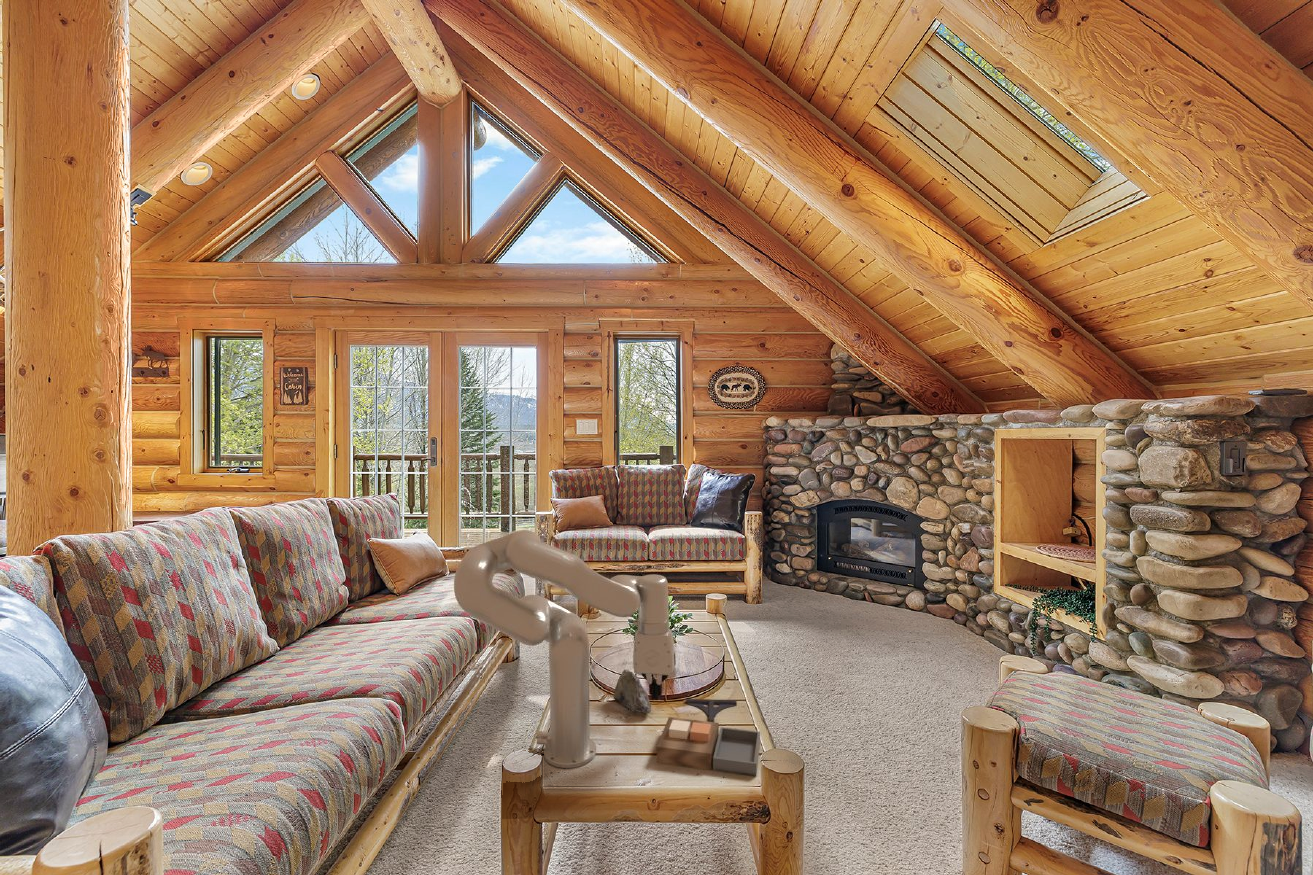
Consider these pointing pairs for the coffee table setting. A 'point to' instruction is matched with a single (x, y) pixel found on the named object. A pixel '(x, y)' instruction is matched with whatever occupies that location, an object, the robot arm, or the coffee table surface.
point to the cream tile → (679, 729)
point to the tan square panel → (687, 748)
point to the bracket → (711, 706)
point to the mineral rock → (631, 693)
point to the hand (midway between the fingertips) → (655, 697)
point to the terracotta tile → (700, 732)
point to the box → (737, 751)
